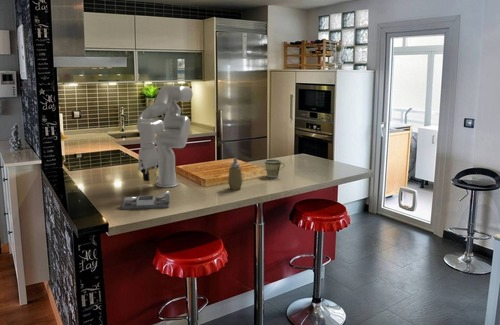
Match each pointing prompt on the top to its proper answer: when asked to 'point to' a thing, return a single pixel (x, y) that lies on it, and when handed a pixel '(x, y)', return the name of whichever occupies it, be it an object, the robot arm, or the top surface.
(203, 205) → the top surface
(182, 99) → the robot arm
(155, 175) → the beige rectangular block
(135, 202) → the shaft mount
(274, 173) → the ceramic cup
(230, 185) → the squeeze bottle
